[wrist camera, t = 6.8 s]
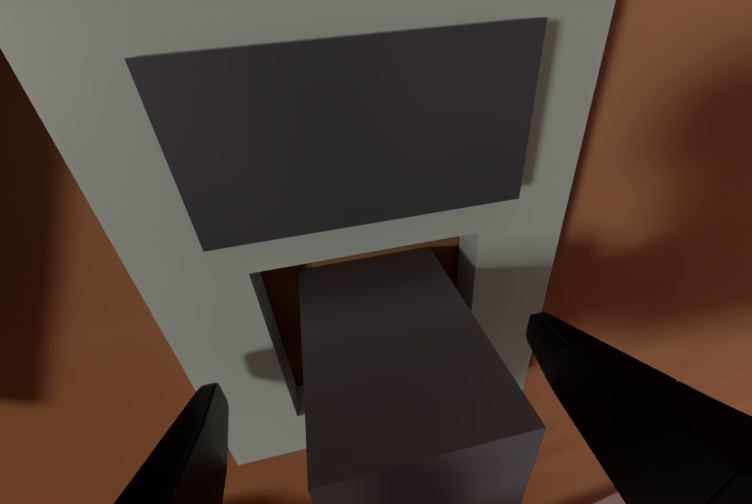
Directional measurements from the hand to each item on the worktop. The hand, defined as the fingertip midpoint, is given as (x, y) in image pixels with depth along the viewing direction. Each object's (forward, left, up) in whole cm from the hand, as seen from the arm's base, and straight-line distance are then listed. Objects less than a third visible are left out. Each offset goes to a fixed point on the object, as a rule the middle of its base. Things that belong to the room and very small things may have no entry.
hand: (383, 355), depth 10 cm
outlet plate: (+2, 0, -2) cm, 3 cm away
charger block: (0, 0, -2) cm, 2 cm away
